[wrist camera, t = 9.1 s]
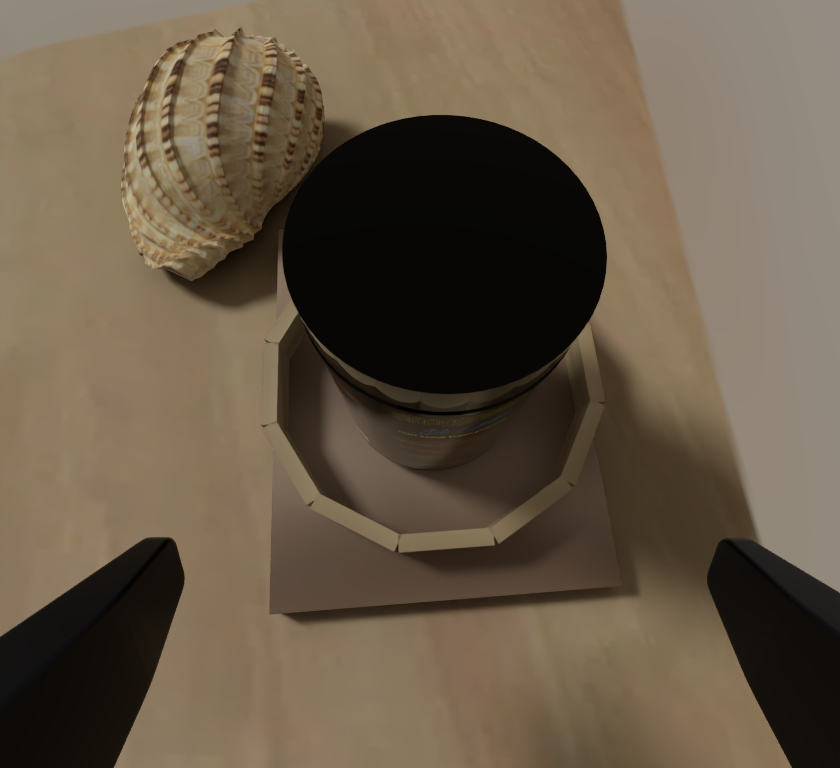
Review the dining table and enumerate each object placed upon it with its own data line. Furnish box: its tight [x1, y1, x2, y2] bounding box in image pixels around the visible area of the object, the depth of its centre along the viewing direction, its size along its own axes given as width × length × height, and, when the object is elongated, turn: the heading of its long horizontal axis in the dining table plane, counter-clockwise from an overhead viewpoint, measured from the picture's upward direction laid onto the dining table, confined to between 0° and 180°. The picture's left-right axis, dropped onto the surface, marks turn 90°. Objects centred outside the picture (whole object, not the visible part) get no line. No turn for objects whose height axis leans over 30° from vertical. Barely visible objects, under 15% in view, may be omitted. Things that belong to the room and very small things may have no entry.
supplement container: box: [282, 115, 607, 471], centre depth 13 cm, size 6×6×9 cm
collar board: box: [261, 229, 623, 614], centre depth 17 cm, size 14×11×2 cm
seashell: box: [121, 27, 325, 281], centre depth 19 cm, size 8×6×10 cm
